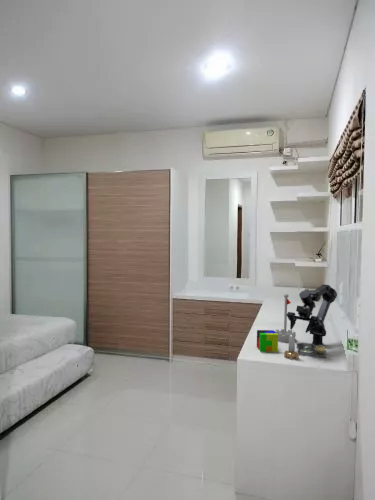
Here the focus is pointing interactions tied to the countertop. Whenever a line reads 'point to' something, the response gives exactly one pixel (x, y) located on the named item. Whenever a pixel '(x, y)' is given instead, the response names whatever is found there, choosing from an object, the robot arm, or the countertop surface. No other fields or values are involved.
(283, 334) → the flag stand
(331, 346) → the countertop surface
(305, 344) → the carrier plate
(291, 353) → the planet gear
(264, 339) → the puzzle toy
